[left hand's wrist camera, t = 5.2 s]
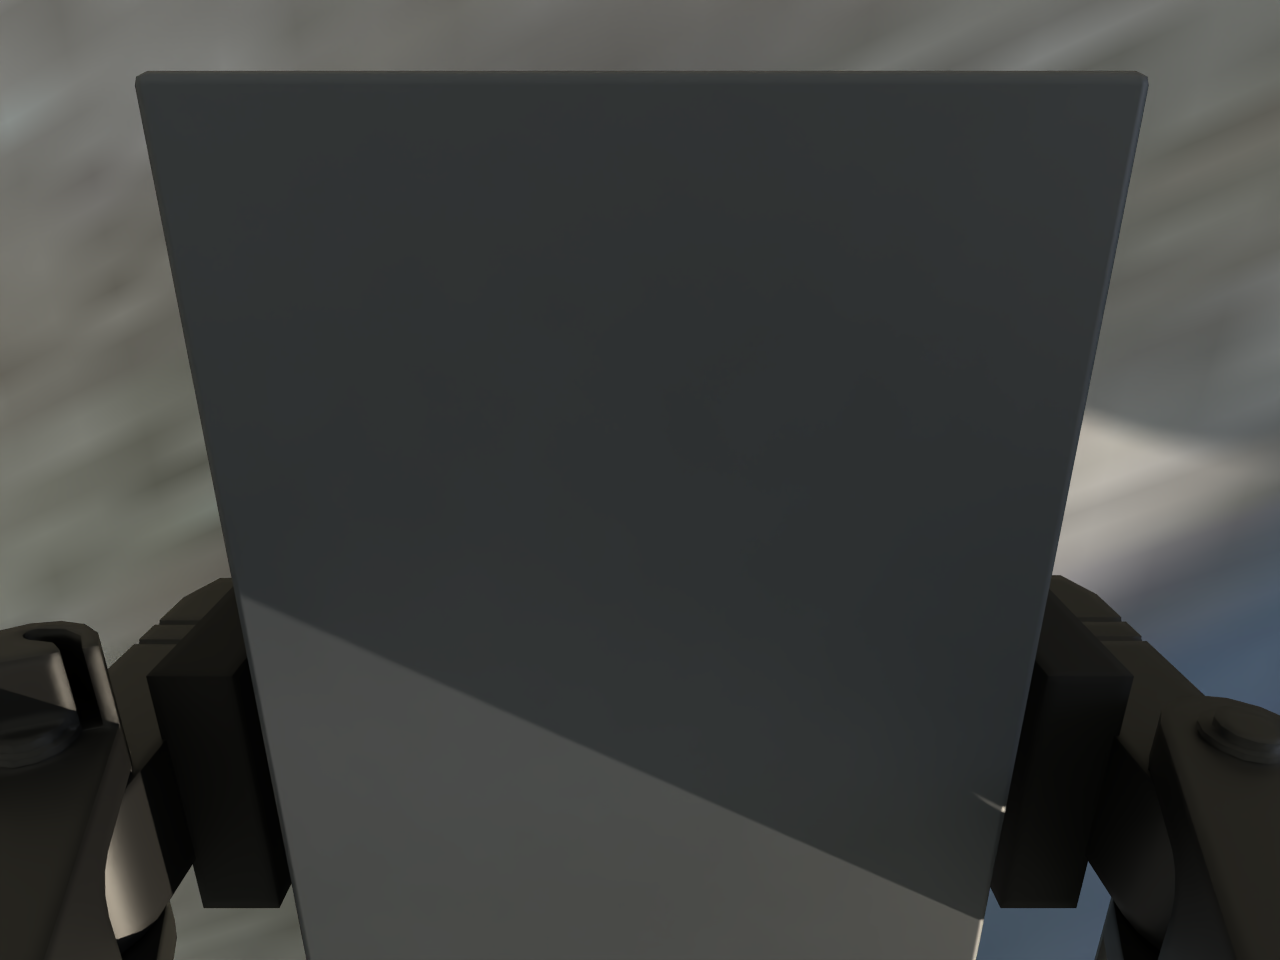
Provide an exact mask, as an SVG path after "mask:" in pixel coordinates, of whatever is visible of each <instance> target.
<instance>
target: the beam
mask: <svg viewBox="0 0 1280 960" xmlns="http://www.w3.org/2000/svg"><path fill="white" fill-rule="evenodd" d="M1148 86H1149V85H1148V77H1147V76H1145V75H1143V74H1141V73H1139V72H1137V71H147V72H145V73H143V74H141V75H139V76H137V77H136V82H135V88H136V93H137V98H138V103H139V108H140V113H141V118H142V123H143V129H144V134H145V139H146V144H147V149H148V154H149V159H150V164H151V169H152V174H153V179H154V185H155V190H156V195H157V200H158V205H159V210H160V215H161V220H162V225H163V230H164V236H165V241H166V246H167V251H168V256H169V261H170V266H171V271H172V276H173V281H174V287H175V292H176V297H177V302H178V307H179V312H180V317H181V322H182V327H183V332H184V337H185V343H186V348H187V353H188V358H189V363H190V368H191V373H192V378H193V383H194V388H195V394H196V399H197V404H198V409H199V414H200V419H201V424H202V429H203V434H204V439H205V444H206V450H207V455H208V460H209V465H210V470H211V475H212V480H213V485H214V490H215V495H216V501H217V506H218V511H219V516H220V521H221V526H222V531H223V536H224V541H225V546H226V551H227V557H228V562H229V567H230V572H231V577H232V582H233V587H234V592H235V597H236V602H237V608H238V613H239V618H240V623H241V628H242V633H243V638H244V643H245V648H246V653H247V658H248V664H249V669H250V674H251V679H252V684H253V689H254V694H255V699H256V704H257V709H258V715H259V720H260V725H261V730H262V735H263V740H264V745H265V750H266V755H267V760H268V766H269V771H270V776H271V781H272V786H273V791H274V796H275V801H276V806H277V811H278V816H279V822H280V827H281V832H282V837H283V842H284V847H285V852H286V857H287V862H288V867H289V873H290V878H291V883H292V888H293V893H294V898H295V903H296V908H297V913H298V918H299V923H300V929H301V934H302V939H303V944H304V949H305V954H306V959H307V960H976V956H977V951H978V946H979V941H980V936H981V931H982V926H983V921H984V916H985V911H986V906H987V901H988V895H989V890H990V885H991V880H992V875H993V870H994V865H995V860H996V855H997V850H998V845H999V840H1000V835H1001V830H1002V825H1003V820H1004V814H1005V809H1006V804H1007V799H1008V794H1009V789H1010V784H1011V779H1012V774H1013V769H1014V764H1015V759H1016V754H1017V749H1018V744H1019V739H1020V734H1021V728H1022V723H1023V718H1024V713H1025V708H1026V703H1027V698H1028V693H1029V688H1030V683H1031V678H1032V673H1033V668H1034V663H1035V658H1036V653H1037V648H1038V642H1039V637H1040V632H1041V627H1042V622H1043V617H1044V612H1045V607H1046V602H1047V597H1048V592H1049V587H1050V582H1051V577H1052V572H1053V567H1054V561H1055V556H1056V551H1057V546H1058V541H1059V536H1060V531H1061V526H1062V521H1063V516H1064V511H1065V506H1066V501H1067V496H1068V491H1069V486H1070V481H1071V475H1072V470H1073V465H1074V460H1075V455H1076V450H1077V445H1078V440H1079V435H1080V430H1081V425H1082V420H1083V415H1084V410H1085V405H1086V400H1087V394H1088V389H1089V384H1090V379H1091V374H1092V369H1093V364H1094V359H1095V354H1096V349H1097V344H1098V339H1099V334H1100V329H1101V324H1102V319H1103V314H1104V308H1105V303H1106V298H1107V293H1108V288H1109V283H1110V278H1111V273H1112V268H1113V263H1114V258H1115V253H1116V248H1117V243H1118V238H1119V233H1120V227H1121V222H1122V217H1123V212H1124V207H1125V202H1126V197H1127V192H1128V187H1129V182H1130V177H1131V172H1132V167H1133V162H1134V157H1135V152H1136V147H1137V141H1138V136H1139V131H1140V126H1141V121H1142V116H1143V111H1144V106H1145V101H1146V96H1147V91H1148Z"/></svg>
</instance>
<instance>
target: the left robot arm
mask: <svg viewBox="0 0 1280 960" xmlns="http://www.w3.org/2000/svg"><path fill="white" fill-rule="evenodd" d="M139 641H140V642H139V644H134V645H133V646H132V647H131V648H130V649H129V650H128V651H127V652H126V653H124V654H123V655H122V656H121V657H120V658H119V659H118V660H117V661H116V662H115V663H114V664H113V665H112V666H111V667H110V668H109V669H107V665H106V661H105V658H104V654H103V650H102V646H101V643H100V639H99V635H98V633H97V632H96V631H94V630H93V629H91V628H90V627H88V626H87V625H85V624H79V623H72V622H64V621H56V622H44V623H32V624H27V625H22V626H18V627H14V628H9V629H5V630H0V960H173V959H174V953H175V946H176V940H177V935H176V927H175V919H174V915H173V912H172V908H171V904H170V899H171V897H172V895H173V894H174V892H175V891H176V889H177V888H178V886H179V885H180V883H181V881H182V880H183V878H184V877H185V875H186V874H187V872H188V871H189V869H190V867H191V866H192V864H193V867H194V871H195V875H196V879H197V883H198V887H199V891H200V895H201V899H202V903H203V907H204V908H280V906H281V904H282V902H283V900H284V898H285V895H286V893H287V891H288V889H289V887H290V885H291V878H290V873H289V867H288V862H287V857H286V852H285V847H284V842H283V837H282V832H281V827H280V822H279V816H278V811H277V806H276V801H275V796H274V791H273V786H272V781H271V776H270V771H269V766H268V760H267V755H266V750H265V745H264V740H263V735H262V730H261V725H260V720H259V715H258V709H257V704H256V699H255V694H254V689H253V684H252V679H251V674H250V669H249V664H248V658H247V653H246V648H245V643H244V638H243V633H242V628H241V623H240V618H239V613H238V608H237V602H236V597H235V592H234V587H233V582H232V578H219V579H218V580H216V581H214V582H212V583H210V584H208V585H206V586H204V587H203V588H201V589H199V590H197V591H195V592H193V593H191V594H189V595H188V596H186V597H184V598H183V599H182V600H181V601H180V602H178V603H177V604H176V605H175V606H174V607H173V608H172V609H171V610H170V611H169V612H168V613H167V614H166V615H165V616H164V617H163V618H162V619H160V623H159V625H154V626H153V627H152V628H151V629H150V630H149V631H148V632H147V633H146V634H145V635H144V636H142V637H141V638H140V639H139ZM1088 861H1089V863H1090V864H1091V866H1092V868H1093V869H1094V871H1095V872H1096V874H1097V875H1098V877H1099V878H1100V880H1101V881H1102V883H1103V885H1104V886H1105V888H1106V889H1107V891H1108V892H1109V894H1110V895H1111V900H1110V904H1109V908H1108V912H1107V915H1106V919H1105V923H1104V927H1103V930H1102V934H1101V938H1100V942H1099V945H1098V949H1097V953H1096V956H1095V960H1280V715H1277V714H1275V713H1273V712H1271V711H1268V710H1266V709H1264V708H1261V707H1259V706H1255V705H1251V704H1247V703H1244V702H1240V701H1236V700H1233V699H1229V698H1222V697H1211V696H1205V695H1204V694H1203V693H1201V692H1200V691H1199V690H1198V689H1197V688H1196V687H1195V686H1194V685H1193V684H1192V683H1191V682H1190V681H1189V680H1188V679H1187V678H1185V677H1184V676H1183V675H1182V674H1181V673H1180V672H1179V671H1178V670H1177V669H1176V668H1175V667H1174V666H1173V665H1172V664H1171V663H1169V662H1168V661H1167V660H1166V659H1165V658H1164V657H1163V656H1162V655H1161V654H1160V653H1159V652H1158V651H1157V650H1156V649H1155V648H1153V647H1152V646H1151V645H1150V644H1149V643H1148V642H1147V641H1142V640H1141V635H1140V634H1139V633H1137V632H1136V631H1135V630H1134V629H1133V628H1132V627H1131V626H1130V625H1129V624H1128V623H1127V622H1122V621H1121V617H1120V616H1119V615H1118V614H1117V613H1116V612H1115V611H1114V610H1113V609H1112V608H1111V607H1110V606H1109V605H1108V604H1106V603H1105V602H1104V601H1103V600H1102V599H1101V598H1100V597H1099V596H1098V595H1097V594H1095V593H1093V592H1091V591H1089V590H1087V589H1085V588H1084V587H1082V586H1080V585H1078V584H1076V583H1074V582H1072V581H1070V580H1068V579H1066V578H1065V577H1063V576H1061V575H1052V577H1051V582H1050V587H1049V592H1048V597H1047V602H1046V607H1045V612H1044V617H1043V622H1042V627H1041V632H1040V637H1039V642H1038V648H1037V653H1036V658H1035V663H1034V668H1033V673H1032V678H1031V683H1030V688H1029V693H1028V698H1027V703H1026V708H1025V713H1024V718H1023V723H1022V728H1021V734H1020V739H1019V744H1018V749H1017V754H1016V759H1015V764H1014V769H1013V774H1012V779H1011V784H1010V789H1009V794H1008V799H1007V804H1006V809H1005V814H1004V820H1003V825H1002V830H1001V835H1000V840H999V845H998V850H997V855H996V860H995V865H994V870H993V875H992V880H991V885H990V887H991V889H992V891H993V893H994V895H995V897H996V900H997V902H998V904H999V906H1000V908H1076V907H1077V903H1078V899H1079V895H1080V891H1081V887H1082V883H1083V879H1084V875H1085V871H1086V867H1087V863H1088Z"/></svg>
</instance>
